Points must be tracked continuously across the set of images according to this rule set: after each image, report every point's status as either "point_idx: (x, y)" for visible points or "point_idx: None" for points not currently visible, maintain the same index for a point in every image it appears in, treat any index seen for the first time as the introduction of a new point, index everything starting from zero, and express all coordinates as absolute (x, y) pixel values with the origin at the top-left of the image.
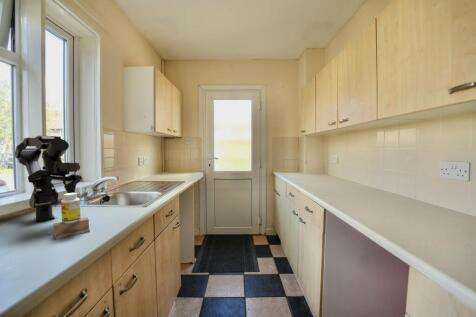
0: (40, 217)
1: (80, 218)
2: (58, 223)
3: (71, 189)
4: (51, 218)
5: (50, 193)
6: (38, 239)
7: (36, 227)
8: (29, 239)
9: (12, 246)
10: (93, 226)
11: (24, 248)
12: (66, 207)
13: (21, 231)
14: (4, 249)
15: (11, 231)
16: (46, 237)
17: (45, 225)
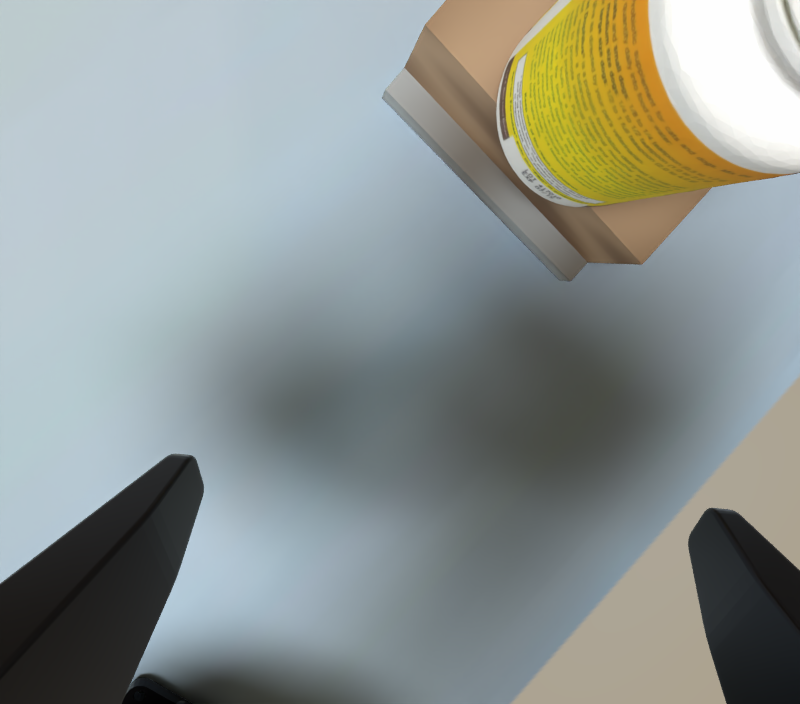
0: None
1: (476, 77)
2: (647, 207)
3: (53, 671)
4: (158, 693)
5: (798, 587)
6: (640, 324)
7: (384, 602)
8: (637, 394)
9: (746, 389)
10: (327, 53)
11: (785, 270)
12: None
13: (477, 622)
14: (785, 391)
15: (477, 693)
16: (605, 297)
17: (329, 577)
